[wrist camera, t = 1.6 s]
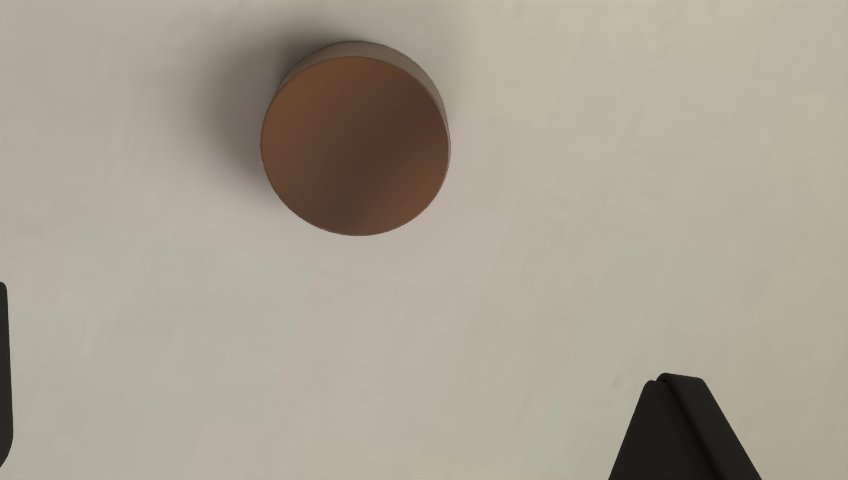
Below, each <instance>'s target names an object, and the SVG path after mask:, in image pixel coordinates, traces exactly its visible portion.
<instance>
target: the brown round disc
mask: <svg viewBox="0 0 848 480" xmlns="http://www.w3.org/2000/svg"><path fill="white" fill-rule="evenodd" d="M260 147H261V157H262V161H263V165H264V169H265V172H266V175H267V177H268V180H269V182H270V183H271V185H272V187H273V189H274V191H275V192H276V193H277V195H278V196H279V198H280V199H281V200H282V201H283V202H284V203H285V205H286V206H287V207H288V208H289V209H290V210H292V211H293V212H294V213H295V214H296V215H298V216H299V217H300V218H302V219H303V220H305V221H306V222H308V223H310V224H312V225H314V226H316V227H318V228H320V229H323V230H326V231H329V232H332V233H337V234H341V235H350V236H368V235H375V234H380V233H384V232H388V231H390V230H393V229H396V228H398V227H400V226H402V225H404V224H406V223H408V222H409V221H411V220H412V219H414V218H415V217H417V216H418V215H419V214H420V213H421V212H422V211H424V210H425V209H426V208H427V207H428V206H429V204H430V203H431V202H432V201H433V199H434V198H435V197H436V195H437V194H438V192H439V190H440V189H441V187H442V184H443V182H444V180H445V178H446V174H447V171H448V167H449V162H450V149H451V143H450V135H449V128H448V123H447V117H446V112H445V108H444V104H443V101H442V99H441V96H440V94H439V92H438V90H437V88H436V86H435V85H434V83H433V81H432V80H431V79H430V77H429V76H428V75H427V74H426V72H425V71H424V70H423V69H422V68H421V67H420V66H419V65H417V64H416V63H415V62H414V61H412V60H411V59H410V58H408V57H407V56H405V55H403V54H402V53H400V52H398V51H396V50H394V49H391V48H389V47H386V46H383V45H379V44H375V43H369V42H344V43H337V44H333V45H330V46H326V47H324V48H322V49H319V50H317V51H315V52H313V53H311V54H310V55H308V56H307V57H305V58H304V59H302V60H301V61H300V62H299V63H298V64H296V65H295V66H294V67H293V68H292V70H291V71H290V72H289V73H288V74H287V75H286V77H285V78H284V80H283V81H282V83H281V84H280V86H279V88H278V90H277V92H276V94H275V95H274V97H273V99H272V101H271V103H270V105H269V107H268V109H267V111H266V114H265V117H264V120H263V124H262V130H261V143H260Z"/></svg>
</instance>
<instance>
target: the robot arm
mask: <svg viewBox="0 0 848 480" xmlns="http://www.w3.org/2000/svg"><path fill="white" fill-rule="evenodd" d="M12 440H13V413H12V391H11V368H10V346H9V323H8V301H7V289H6V286H5V284H4V283H2V282H0V467H1V466H2V464H3V463H4V461H5V460H6V458H7V456H8V454H9V451H10V448H11V445H12ZM608 480H762V479H761V477H760V476H759V474H758V472H757V471H756V469H755V467H754V466H753V464H752V462H751V460H750V459H749V457H748V455H747V454H746V452H745V450H744V448H743V447H742V445H741V443H740V442H739V440H738V438H737V436H736V435H735V433H734V431H733V430H732V428H731V426H730V424H729V423H728V421H727V419H726V418H725V416H724V414H723V412H722V411H721V409H720V407H719V406H718V404H717V402H716V400H715V399H714V397H713V395H712V394H711V392H710V390H709V388H708V387H707V385H706V383H705V382H704V381H703V380H702V379H700V378H696V377H690V376H683V375H677V374H670V373H663V374H661V375H660V376H659V377H658V378H657V380H656V381H653V380H650V381H648V382H647V383H646V384H645V386H644V388H643V390H642V393H641V395H640V398H639V401H638V403H637V406H636V409H635V411H634V414H633V416H632V419H631V422H630V424H629V427H628V429H627V432H626V435H625V437H624V440H623V443H622V445H621V448H620V450H619V453H618V456H617V458H616V461H615V464H614V466H613V469H612V471H611V474H610V477H609V479H608Z"/></svg>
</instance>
